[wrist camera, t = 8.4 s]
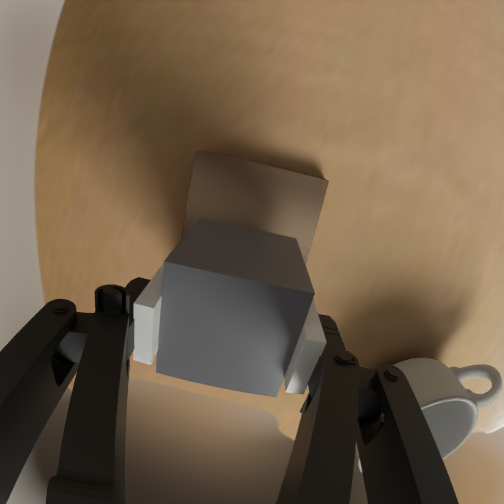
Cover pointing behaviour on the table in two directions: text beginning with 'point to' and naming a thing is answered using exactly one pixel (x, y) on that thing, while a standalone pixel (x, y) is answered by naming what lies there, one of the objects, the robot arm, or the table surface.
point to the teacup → (448, 398)
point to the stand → (255, 197)
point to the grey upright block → (232, 307)
